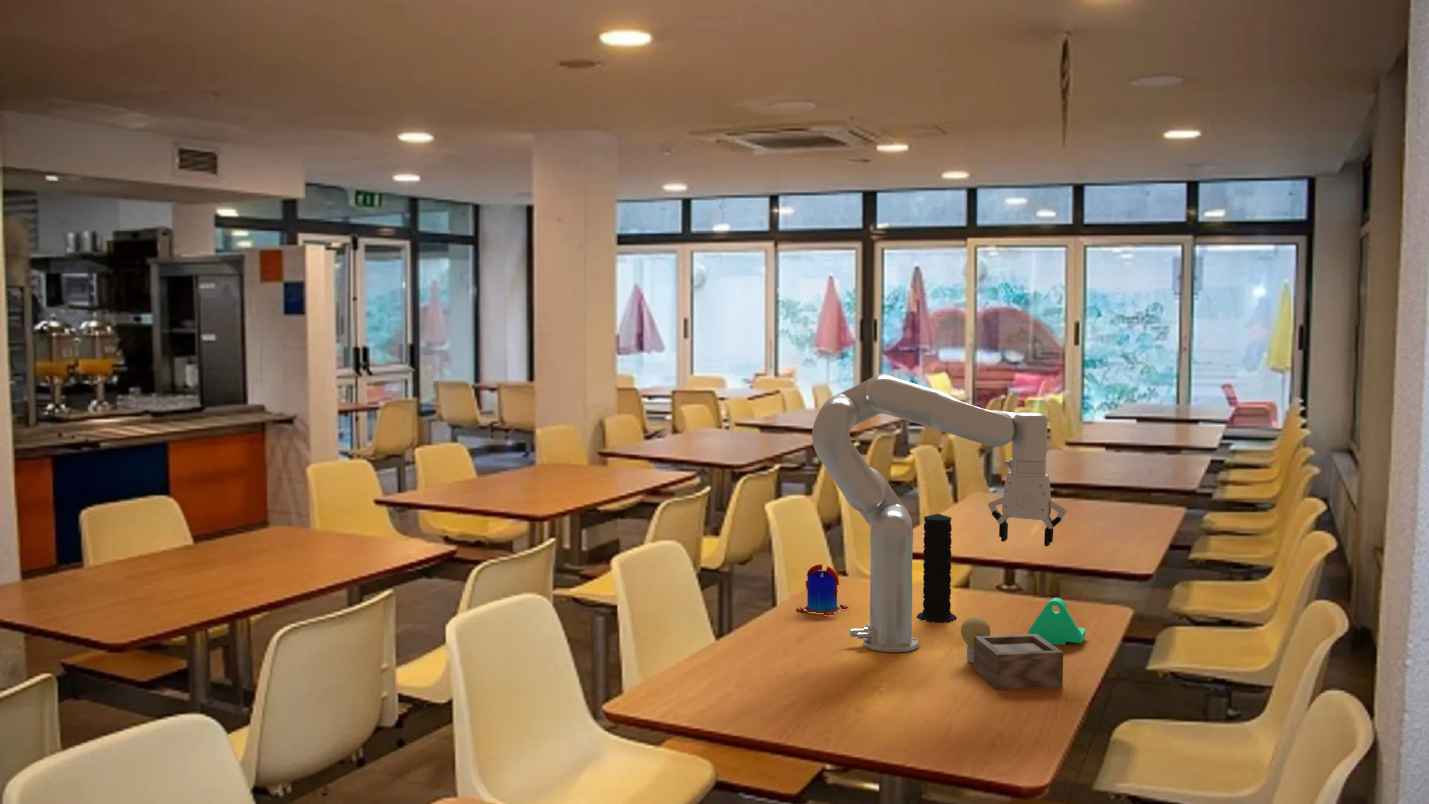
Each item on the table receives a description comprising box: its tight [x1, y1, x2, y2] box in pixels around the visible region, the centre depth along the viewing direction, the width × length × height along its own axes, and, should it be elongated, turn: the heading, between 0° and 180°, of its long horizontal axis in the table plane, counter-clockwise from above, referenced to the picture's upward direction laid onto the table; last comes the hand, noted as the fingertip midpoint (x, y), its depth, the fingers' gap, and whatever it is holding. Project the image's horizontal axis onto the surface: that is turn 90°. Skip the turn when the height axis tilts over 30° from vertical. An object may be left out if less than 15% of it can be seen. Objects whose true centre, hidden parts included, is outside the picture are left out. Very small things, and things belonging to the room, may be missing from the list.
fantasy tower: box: [795, 564, 849, 616], centre depth 308 cm, size 12×12×12 cm
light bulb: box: [960, 616, 991, 664], centre depth 262 cm, size 6×6×10 cm
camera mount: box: [1027, 597, 1086, 646], centre depth 280 cm, size 12×8×10 cm, turn 65°
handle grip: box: [916, 513, 958, 624], centre depth 299 cm, size 10×26×10 cm
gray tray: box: [973, 633, 1064, 690], centre depth 251 cm, size 14×14×7 cm
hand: (1025, 543), depth 269 cm, fingers open, 9 cm apart
